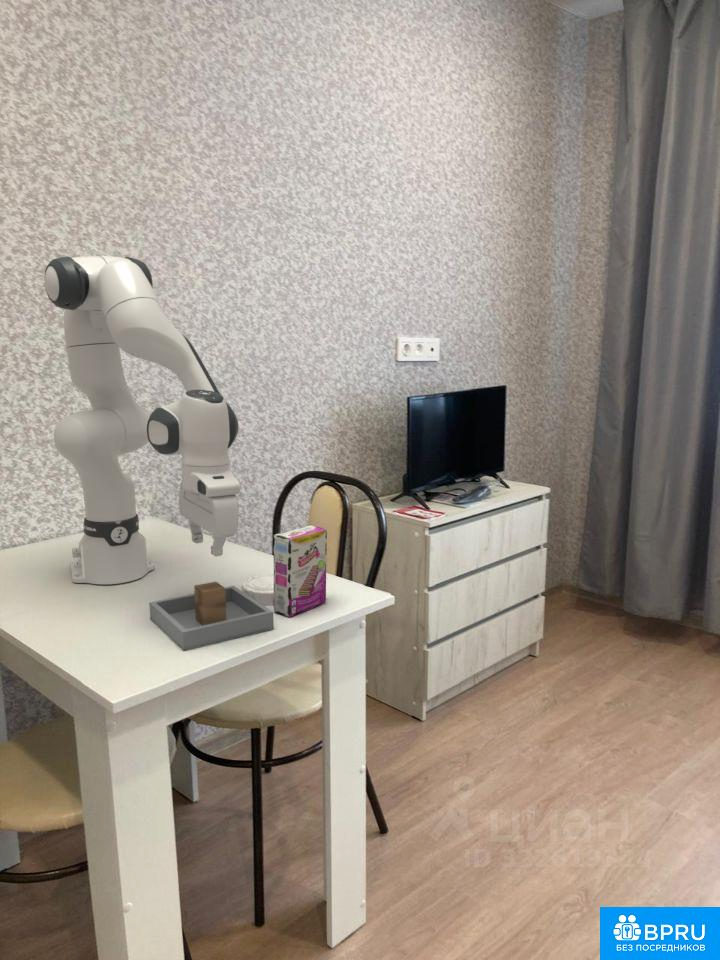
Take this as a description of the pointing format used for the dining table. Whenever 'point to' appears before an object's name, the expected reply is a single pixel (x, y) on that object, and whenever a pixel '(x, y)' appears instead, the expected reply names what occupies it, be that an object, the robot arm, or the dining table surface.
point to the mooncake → (260, 589)
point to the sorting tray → (190, 634)
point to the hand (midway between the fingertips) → (206, 548)
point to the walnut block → (210, 603)
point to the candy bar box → (299, 570)
